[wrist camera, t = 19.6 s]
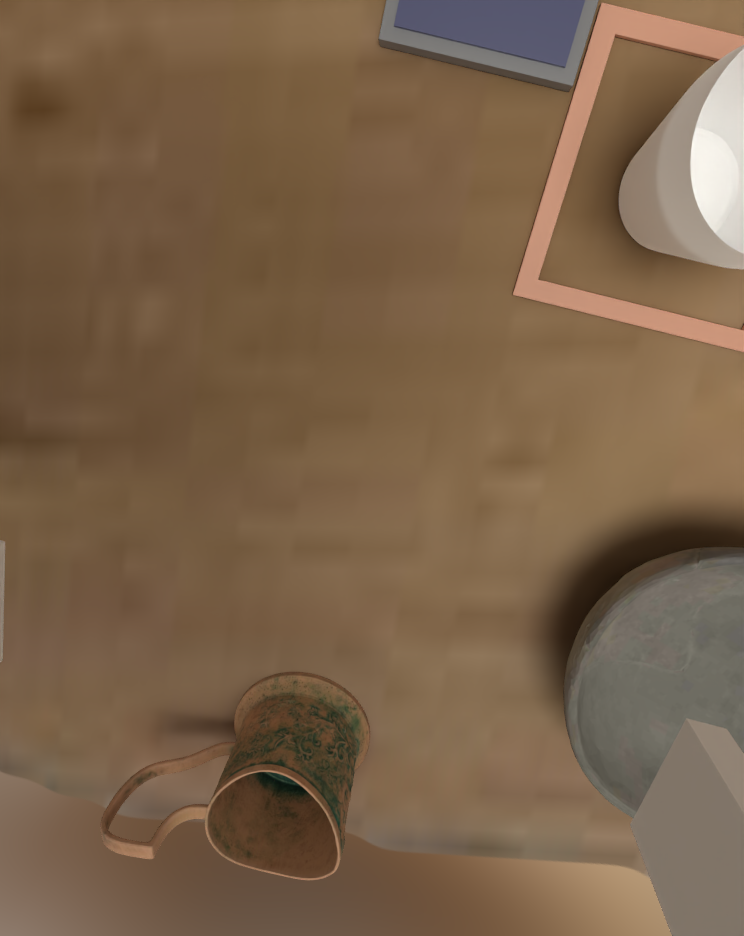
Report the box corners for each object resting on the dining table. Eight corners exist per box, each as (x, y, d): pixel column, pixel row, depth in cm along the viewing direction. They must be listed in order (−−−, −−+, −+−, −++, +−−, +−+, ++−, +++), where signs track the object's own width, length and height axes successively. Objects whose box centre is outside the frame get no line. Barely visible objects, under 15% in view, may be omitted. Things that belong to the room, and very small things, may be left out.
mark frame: (512, 294, 35) (513, 294, 35) (600, 5, 30) (601, 2, 30) (751, 354, 35) (753, 354, 35) (879, 72, 30) (883, 70, 30)
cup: (630, 86, 31) (747, -30, 20) (788, 124, 31) (996, 30, 20) (574, 253, 34) (648, 237, 23) (718, 289, 34) (865, 290, 23)
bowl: (483, 655, 43) (495, 733, 36) (678, 446, 37) (743, 487, 30) (691, 792, 46) (743, 892, 38) (908, 616, 39) (1024, 694, 32)
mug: (162, 658, 46) (77, 778, 35) (373, 679, 45) (355, 810, 34) (172, 766, 50) (97, 907, 39) (367, 788, 49) (349, 941, 37)
